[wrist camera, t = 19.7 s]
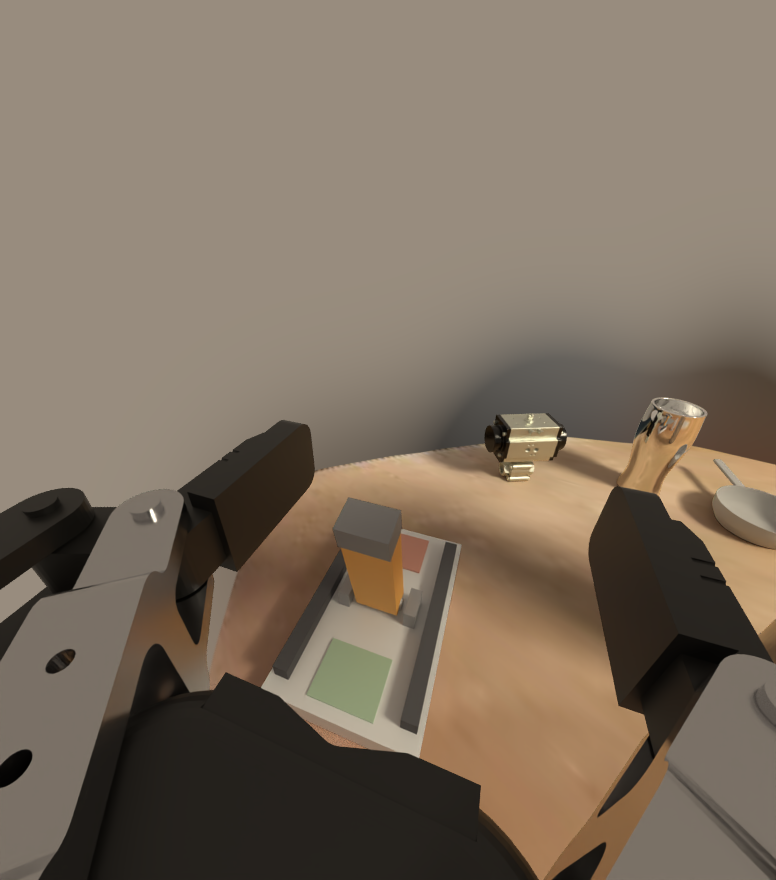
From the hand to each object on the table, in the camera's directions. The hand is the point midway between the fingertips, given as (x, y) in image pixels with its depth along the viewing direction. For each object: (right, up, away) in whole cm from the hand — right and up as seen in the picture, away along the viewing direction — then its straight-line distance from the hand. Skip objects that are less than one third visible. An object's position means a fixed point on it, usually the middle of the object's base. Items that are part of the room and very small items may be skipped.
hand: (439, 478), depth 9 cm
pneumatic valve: (+20, -6, +50) cm, 54 cm away
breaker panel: (-2, -18, +28) cm, 33 cm away
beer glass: (+40, -7, +48) cm, 63 cm away
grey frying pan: (+53, -10, +44) cm, 69 cm away
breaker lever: (-2, -15, +26) cm, 31 cm away
